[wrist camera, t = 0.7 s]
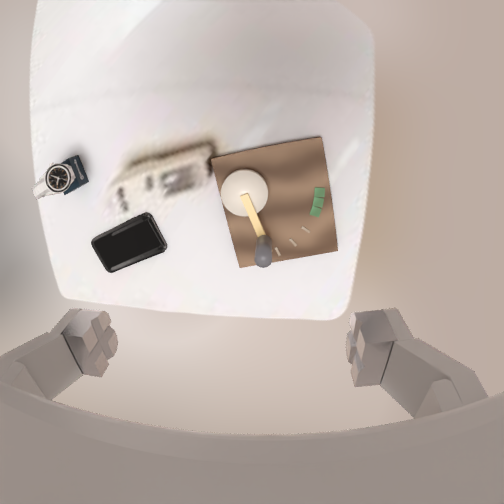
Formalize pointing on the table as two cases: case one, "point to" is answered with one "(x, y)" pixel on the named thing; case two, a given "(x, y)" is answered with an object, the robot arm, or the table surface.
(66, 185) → the watch
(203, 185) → the table surface
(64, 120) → the table surface
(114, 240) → the phone
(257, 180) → the dial knob with pointer
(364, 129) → the table surface
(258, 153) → the gauge panel
